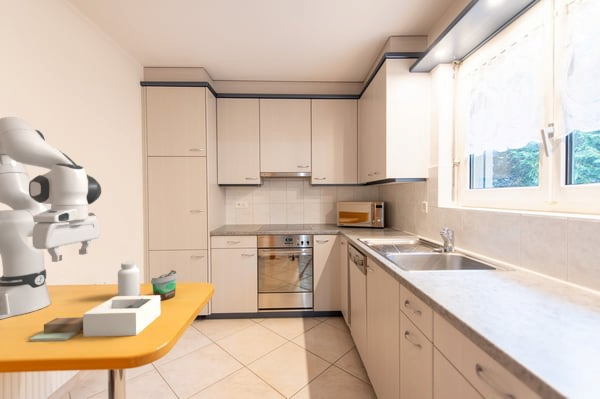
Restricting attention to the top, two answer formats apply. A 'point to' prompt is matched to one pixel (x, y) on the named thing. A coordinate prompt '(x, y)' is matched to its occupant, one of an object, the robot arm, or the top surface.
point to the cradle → (136, 304)
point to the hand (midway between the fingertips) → (70, 257)
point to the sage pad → (52, 336)
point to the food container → (165, 285)
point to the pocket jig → (121, 316)
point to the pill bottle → (129, 279)
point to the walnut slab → (64, 325)
